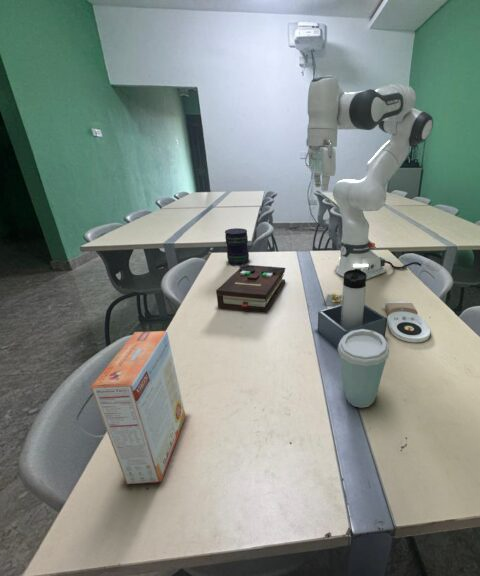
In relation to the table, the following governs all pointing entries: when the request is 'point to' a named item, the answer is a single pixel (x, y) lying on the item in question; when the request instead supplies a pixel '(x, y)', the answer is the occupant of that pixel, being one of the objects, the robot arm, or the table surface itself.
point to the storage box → (334, 332)
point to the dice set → (334, 300)
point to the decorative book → (251, 288)
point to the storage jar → (237, 246)
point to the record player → (406, 322)
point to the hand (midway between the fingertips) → (320, 188)
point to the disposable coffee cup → (362, 365)
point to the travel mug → (353, 299)
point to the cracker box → (141, 406)
